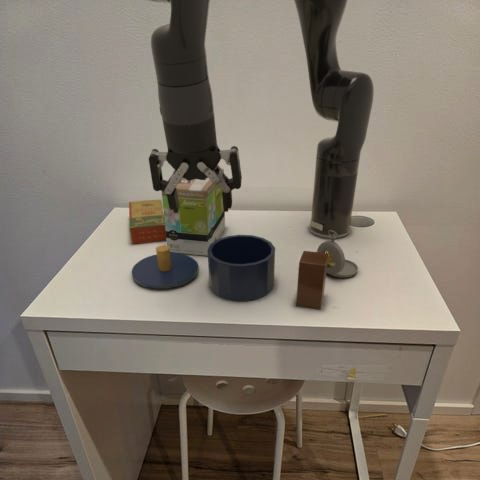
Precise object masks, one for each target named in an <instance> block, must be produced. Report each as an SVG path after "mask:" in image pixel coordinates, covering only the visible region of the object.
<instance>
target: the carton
mask: <svg viewBox="0 0 480 480" xmlns="http://www.w3.org/2000/svg"><path fill="white" fill-rule="evenodd" d="M128 215H129V216H128V217H129V218H128V220H129V222H128V223H129V224H128V225H129V233H130V241H131V244H132V245H134V244H135V245H137V244H144V243H153V242H163V241H167V240H166V230H165V221H164V210H163V201H162V199H147V200H146V199H145V200H137V201H136V200H135V201H129V202H128Z"/></svg>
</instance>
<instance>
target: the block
mask: <svg viewBox="0 0 480 480" xmlns="http://www.w3.org/2000/svg"><path fill="white" fill-rule="evenodd" d="M328 255H329V254H328V252H327V253H326V252H325V253H320V252H317V251H310V250H303V251H302V254H301V257H300V259H299V263H298V275H297V287H296V301H295V306H296V307H299V308H300V307H301V308H305V309H314V310H321V309H322V305H323V301H324V296H325V288H326V280H327V263H328Z"/></svg>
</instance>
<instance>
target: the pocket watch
mask: <svg viewBox="0 0 480 480" xmlns="http://www.w3.org/2000/svg"><path fill="white" fill-rule="evenodd" d="M329 231H332V232H334V233H335V234H336V235H337V237H336V236H335V234H332V236H331V235H330V233H329ZM329 231H328V234H329V235H330V236H331V238H330V239H331V240H325V241H323V242H321V243H320V244H319V245H318V248H317V250H316V252H320V253H328V254H329V255H328V263H327V272H326V274H328V275H329V276H332V277H335V278H350V277H353V276H355V275H356V274H357V273H358V270H359V267H358V265H357V264H356V262H354V261H351V260H348V259H346V258H345V253H344V251H343V249H342V248H341V246H340V245H339V244H338V243H337V242H336V241H335V240H337V239H339V238H338V234H337V233H336V232H335V231H333V230H329Z"/></svg>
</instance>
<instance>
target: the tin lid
mask: <svg viewBox="0 0 480 480" xmlns="http://www.w3.org/2000/svg"><path fill="white" fill-rule="evenodd" d="M155 253H156V254H152V255H150V256H147V257H144V258H142V259H141V260H139V261H137V262H136V263H135V264H134V265H133V267H132V269H131V276H132V279H133V281H134V282H135V283H136V284H138V285H140V286H143V287H145V288H151V289H170V288H175V287H180V286H182V285H185V284H186V283H187V284H188V283H189V282H190V281H192V280H193V279H194V278H195V277H196V276H197V275H198V273H199V268H200V267H199V263H198V261H196V259H194V258H193V257H191V256H190V255H188V254H183V253H174V252H170V250H169V247H168V246H167V245H164V244H163V245H159V246H156V247H155Z"/></svg>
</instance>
